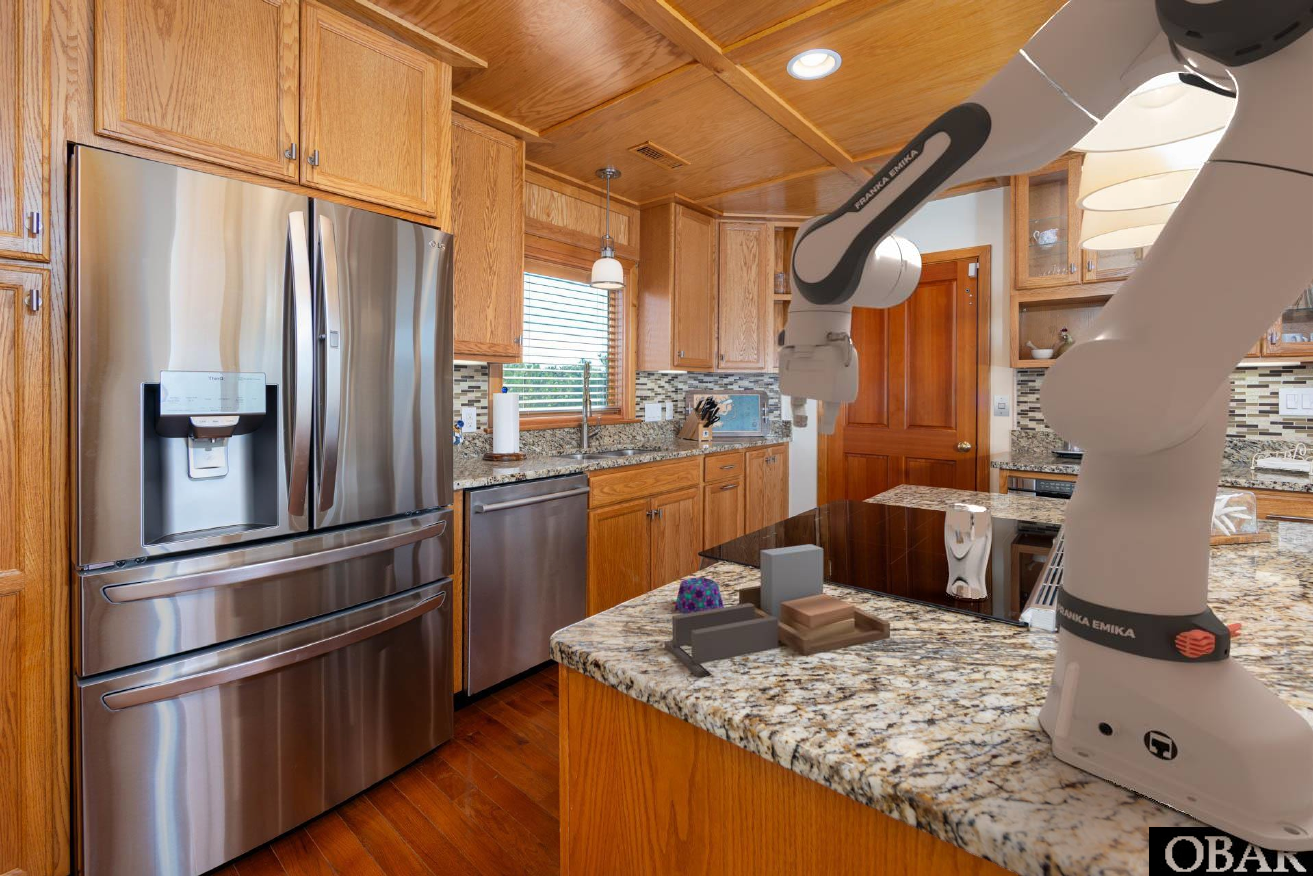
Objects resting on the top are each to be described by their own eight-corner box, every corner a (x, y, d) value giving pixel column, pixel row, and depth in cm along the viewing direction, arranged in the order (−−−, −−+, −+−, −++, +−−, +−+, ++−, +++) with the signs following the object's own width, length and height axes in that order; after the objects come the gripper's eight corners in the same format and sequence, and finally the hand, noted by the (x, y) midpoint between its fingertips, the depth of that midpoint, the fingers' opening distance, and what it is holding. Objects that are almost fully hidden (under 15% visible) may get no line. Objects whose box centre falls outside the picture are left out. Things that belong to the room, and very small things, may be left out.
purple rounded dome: (645, 618, 96) (644, 585, 96) (687, 597, 106) (687, 567, 105) (712, 635, 89) (712, 599, 89) (751, 611, 99) (751, 579, 98)
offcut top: (854, 618, 86) (854, 605, 86) (810, 629, 83) (810, 615, 82) (823, 605, 92) (823, 593, 92) (780, 615, 88) (780, 602, 88)
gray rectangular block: (822, 614, 93) (823, 548, 92) (771, 623, 90) (772, 555, 89) (810, 608, 96) (810, 544, 95) (760, 616, 92) (760, 550, 92)
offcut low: (854, 632, 86) (854, 619, 86) (806, 641, 83) (806, 628, 83) (826, 618, 92) (826, 606, 91) (780, 626, 88) (780, 614, 88)
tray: (889, 644, 84) (890, 608, 84) (804, 663, 79) (804, 624, 78) (815, 608, 99) (815, 577, 98) (739, 621, 93) (739, 588, 93)
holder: (788, 658, 80) (788, 622, 80) (698, 678, 75) (697, 639, 75) (747, 631, 89) (747, 599, 89) (664, 647, 84) (664, 612, 84)
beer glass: (1000, 600, 101) (1002, 509, 100) (968, 605, 99) (970, 512, 98) (964, 587, 108) (966, 502, 107) (934, 593, 105) (935, 505, 104)
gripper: (874, 331, 79) (867, 439, 81) (810, 338, 100) (805, 424, 101) (828, 329, 78) (821, 438, 80) (773, 336, 99) (768, 423, 100)
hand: (812, 430), depth 91 cm, fingers open, 8 cm apart
